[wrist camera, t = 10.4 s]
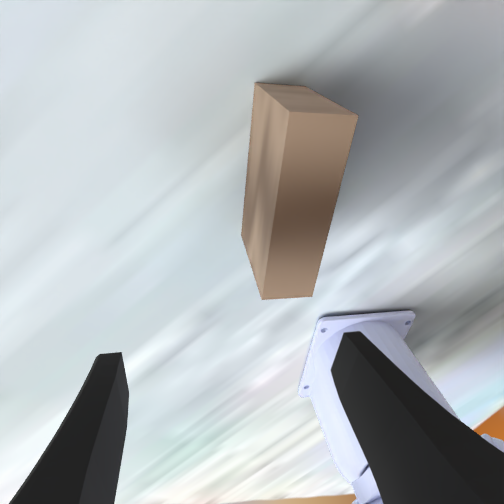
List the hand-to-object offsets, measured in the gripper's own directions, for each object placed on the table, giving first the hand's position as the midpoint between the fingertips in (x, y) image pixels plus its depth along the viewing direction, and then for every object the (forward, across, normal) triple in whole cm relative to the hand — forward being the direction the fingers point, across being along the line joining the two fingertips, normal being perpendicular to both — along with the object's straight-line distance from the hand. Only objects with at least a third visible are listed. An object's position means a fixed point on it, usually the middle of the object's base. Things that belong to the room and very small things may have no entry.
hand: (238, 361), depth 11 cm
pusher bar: (+10, -3, -3) cm, 10 cm away
